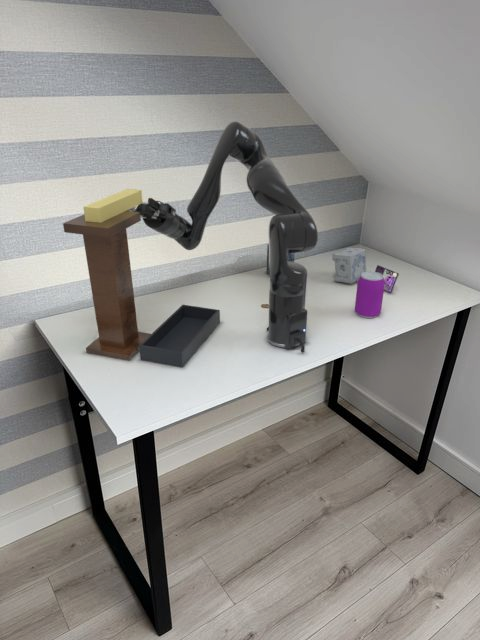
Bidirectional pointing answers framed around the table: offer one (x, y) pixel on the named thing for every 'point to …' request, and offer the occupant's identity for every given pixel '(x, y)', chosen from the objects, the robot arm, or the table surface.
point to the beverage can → (369, 294)
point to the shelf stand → (111, 284)
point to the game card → (388, 277)
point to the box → (289, 257)
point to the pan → (180, 336)
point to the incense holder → (349, 265)
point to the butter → (112, 205)
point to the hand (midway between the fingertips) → (133, 200)
